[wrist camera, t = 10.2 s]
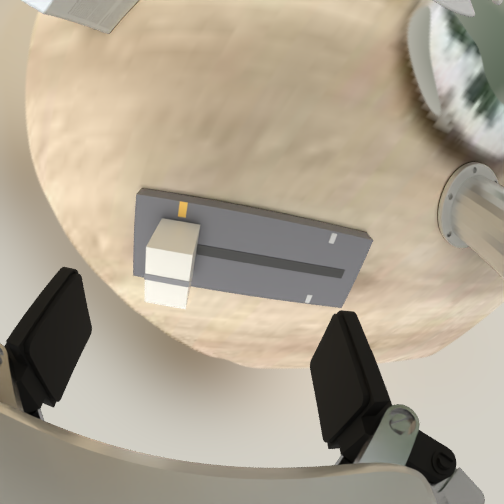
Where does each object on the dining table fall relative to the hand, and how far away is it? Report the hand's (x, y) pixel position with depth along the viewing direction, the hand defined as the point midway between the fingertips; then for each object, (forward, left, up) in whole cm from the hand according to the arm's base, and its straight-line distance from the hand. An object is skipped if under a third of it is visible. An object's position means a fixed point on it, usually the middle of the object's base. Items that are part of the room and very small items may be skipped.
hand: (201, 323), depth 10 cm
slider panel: (-5, +8, -22) cm, 23 cm away
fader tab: (+3, +8, -19) cm, 21 cm away
